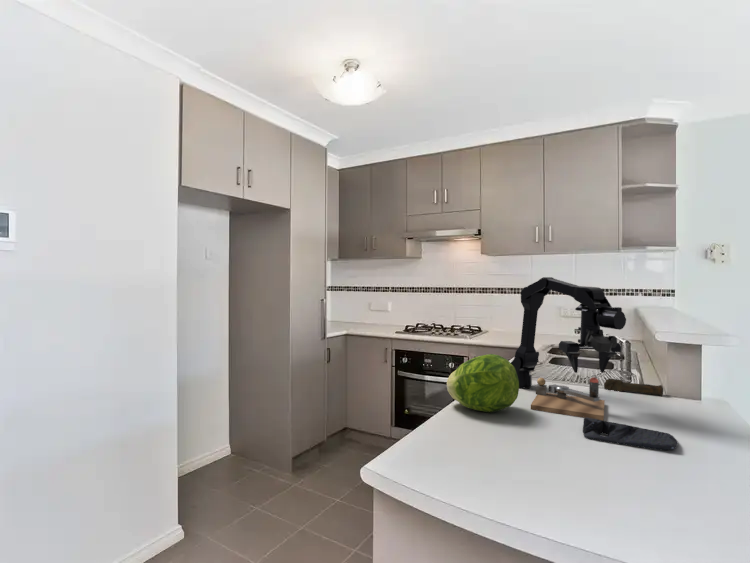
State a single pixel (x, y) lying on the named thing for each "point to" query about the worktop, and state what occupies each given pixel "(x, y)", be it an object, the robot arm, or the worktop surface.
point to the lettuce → (484, 383)
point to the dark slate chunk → (627, 434)
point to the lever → (592, 391)
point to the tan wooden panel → (566, 403)
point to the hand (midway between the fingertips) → (588, 372)
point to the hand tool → (633, 387)
